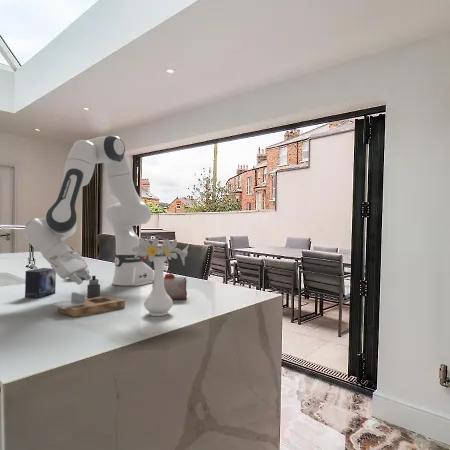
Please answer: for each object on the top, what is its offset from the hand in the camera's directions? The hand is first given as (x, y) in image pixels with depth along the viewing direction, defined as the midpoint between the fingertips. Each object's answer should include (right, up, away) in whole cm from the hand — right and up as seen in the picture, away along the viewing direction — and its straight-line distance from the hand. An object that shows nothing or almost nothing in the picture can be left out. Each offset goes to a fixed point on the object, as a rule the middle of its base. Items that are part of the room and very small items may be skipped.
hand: (85, 281), depth 137 cm
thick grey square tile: (+2, -5, -19) cm, 20 cm away
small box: (-22, -7, +9) cm, 24 cm away
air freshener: (-23, -7, +51) cm, 57 cm away
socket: (+7, -8, -13) cm, 17 cm away
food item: (+31, -8, +6) cm, 32 cm away
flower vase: (+31, -8, -18) cm, 37 cm away
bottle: (+3, -7, 0) cm, 8 cm away
